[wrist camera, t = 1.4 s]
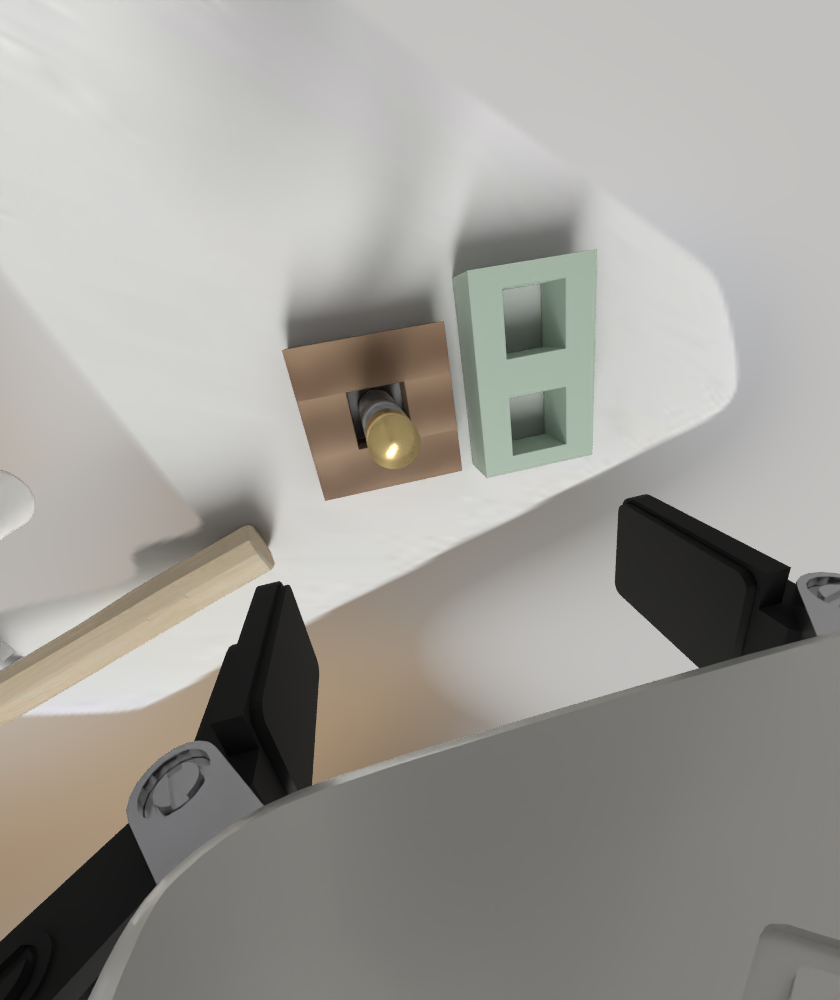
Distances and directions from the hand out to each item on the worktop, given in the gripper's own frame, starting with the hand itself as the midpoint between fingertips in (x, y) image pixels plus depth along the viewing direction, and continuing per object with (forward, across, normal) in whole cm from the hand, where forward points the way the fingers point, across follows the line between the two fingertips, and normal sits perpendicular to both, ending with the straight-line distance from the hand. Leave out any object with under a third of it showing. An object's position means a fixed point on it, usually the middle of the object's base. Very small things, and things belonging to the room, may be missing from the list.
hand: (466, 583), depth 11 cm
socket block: (+26, 0, 0) cm, 26 cm away
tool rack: (+26, -13, -2) cm, 29 cm away
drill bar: (+26, 0, 0) cm, 26 cm away
